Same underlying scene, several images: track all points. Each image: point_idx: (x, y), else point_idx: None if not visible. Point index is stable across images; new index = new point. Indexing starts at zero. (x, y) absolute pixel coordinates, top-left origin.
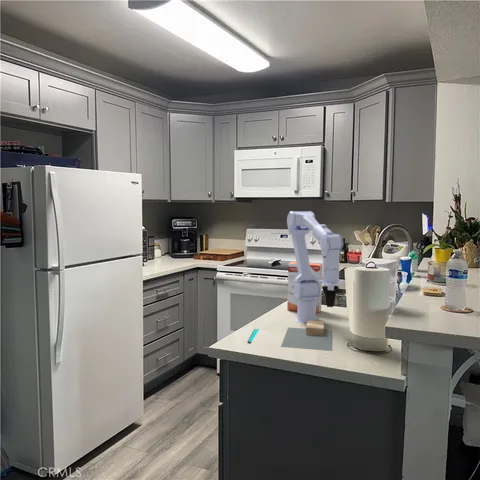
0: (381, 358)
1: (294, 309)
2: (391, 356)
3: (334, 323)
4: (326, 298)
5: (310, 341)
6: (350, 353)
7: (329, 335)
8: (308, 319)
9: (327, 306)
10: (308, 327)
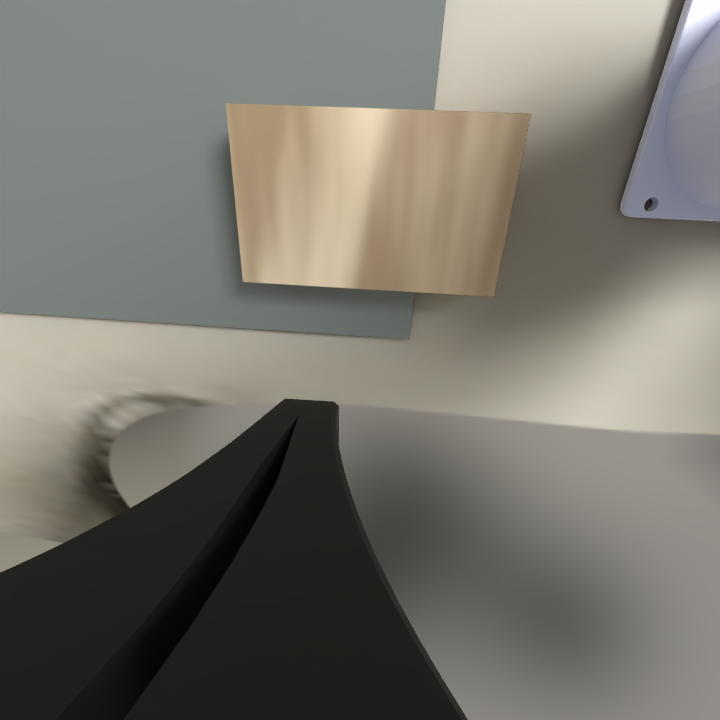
0: (51, 503)
1: None
2: None
3: (639, 365)
4: (195, 482)
5: (86, 164)
6: (39, 397)
7: (280, 312)
8: (686, 124)
9: (277, 406)
10: (232, 131)
